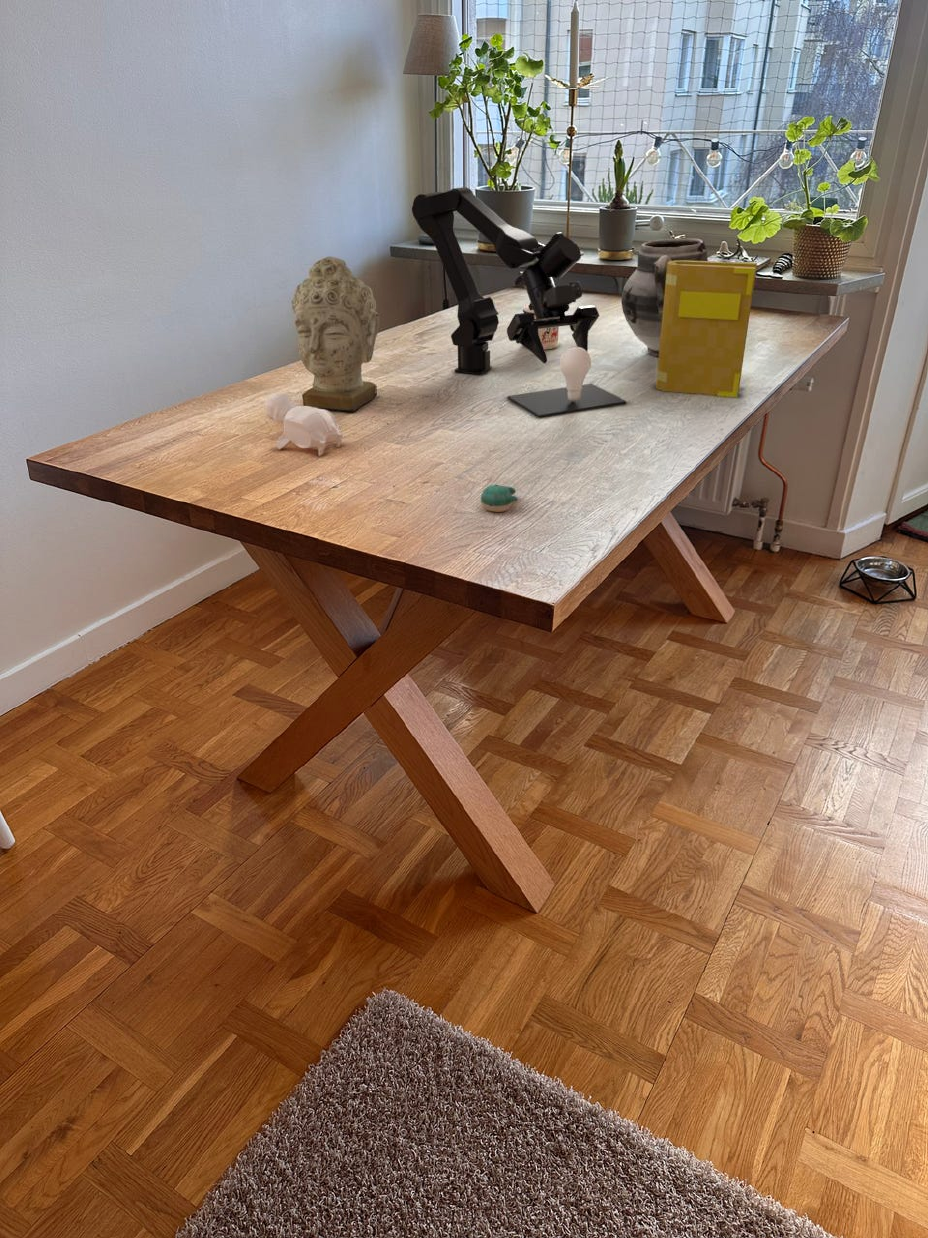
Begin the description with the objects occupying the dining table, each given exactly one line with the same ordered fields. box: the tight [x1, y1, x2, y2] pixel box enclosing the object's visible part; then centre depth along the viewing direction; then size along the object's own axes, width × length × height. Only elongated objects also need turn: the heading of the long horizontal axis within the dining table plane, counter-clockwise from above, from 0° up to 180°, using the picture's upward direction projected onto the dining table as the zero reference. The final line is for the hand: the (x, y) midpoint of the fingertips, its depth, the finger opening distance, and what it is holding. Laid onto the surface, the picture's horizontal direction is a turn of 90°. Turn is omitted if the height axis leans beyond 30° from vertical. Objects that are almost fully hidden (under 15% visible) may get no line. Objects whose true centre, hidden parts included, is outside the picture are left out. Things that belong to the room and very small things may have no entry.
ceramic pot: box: [620, 237, 709, 357], centre depth 208 cm, size 29×23×25 cm
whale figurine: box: [480, 484, 518, 513], centre depth 138 cm, size 6×7×4 cm
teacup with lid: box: [522, 304, 560, 351], centre depth 220 cm, size 12×9×12 cm
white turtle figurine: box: [264, 392, 344, 457], centre depth 162 cm, size 9×8×15 cm
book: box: [655, 260, 758, 398], centre depth 182 cm, size 17×7×25 cm, turn 71°
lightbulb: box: [559, 346, 592, 402], centre depth 178 cm, size 6×6×11 cm
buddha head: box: [291, 256, 380, 413], centre depth 179 cm, size 17×19×28 cm
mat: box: [507, 383, 627, 418], centre depth 183 cm, size 14×20×1 cm
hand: (565, 359), depth 180 cm, fingers open, 9 cm apart
